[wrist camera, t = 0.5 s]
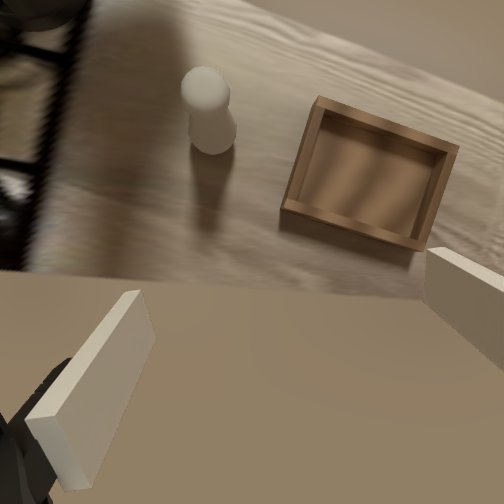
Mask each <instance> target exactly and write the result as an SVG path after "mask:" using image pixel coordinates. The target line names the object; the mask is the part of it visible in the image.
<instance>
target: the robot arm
mask: <svg viewBox="0 0 504 504" xmlns="http://www.w3.org/2000/svg"><path fill="white" fill-rule="evenodd" d="M86 2H87V0H0V22H1V23H3V24H5V25H8V26H10V27H13V28H16V29H20V30H26V31H44V30H49V29H53V28H56V27H59V26H61V25H63V24H65V23H66V22H68V21H69V20H71V19H72V18H73V17H75V16H76V15H77V14H78V13H79V11H80V10H81V9H82V8H83V6H84V5H85V3H86ZM423 303H425V304H426V305H427V306H428V307H429V308H430V309H431V310H433V311H434V312H435V313H436V314H437V315H438V316H440V317H441V318H442V319H443V320H444V321H445V322H447V323H448V324H449V325H450V326H451V327H452V328H453V329H455V330H456V331H457V332H458V333H459V334H461V335H462V336H463V337H464V338H465V339H466V340H467V341H468V342H470V343H471V344H472V345H473V346H474V347H475V348H477V349H478V350H479V351H480V352H481V353H482V354H484V355H485V356H486V357H487V358H488V359H489V360H490V361H492V362H493V363H494V364H495V365H496V366H497V367H499V368H500V369H501V370H502V371H503V372H504V277H503V276H501V275H499V274H497V273H495V272H493V271H491V270H489V269H487V268H485V267H483V266H481V265H479V264H477V263H475V262H473V261H471V260H469V259H467V258H465V257H463V256H461V255H459V254H457V253H455V252H453V251H451V250H449V249H447V248H445V247H439V248H432V249H427V256H426V268H425V281H424V294H423ZM155 341H156V337H155V333H154V330H153V327H152V324H151V320H150V317H149V313H148V310H147V307H146V304H145V300H144V297H143V294H142V290H133V291H126V292H124V293H123V295H122V296H121V297H120V298H119V300H118V301H117V302H116V303H115V305H114V306H113V307H112V309H111V310H110V311H109V312H108V314H107V315H106V316H105V318H104V319H103V320H102V321H101V323H100V324H99V325H98V326H97V328H96V329H95V331H94V332H93V333H92V334H91V335H90V337H89V338H88V339H87V340H86V342H85V343H84V344H83V346H82V347H81V348H80V349H79V351H78V352H77V353H76V354H75V356H74V357H72V358H67V359H66V360H64V361H63V362H62V363H61V364H59V365H58V366H57V367H56V368H54V369H53V370H52V371H51V372H50V374H49V375H48V376H47V377H46V379H45V380H44V381H43V384H40V386H39V387H38V388H37V389H36V390H35V393H34V394H32V395H31V397H30V398H29V399H28V400H27V401H26V403H25V404H24V405H23V406H22V407H21V409H20V410H19V411H18V412H17V413H16V414H15V416H14V417H13V418H12V419H11V420H10V422H9V423H8V424H7V423H6V421H5V420H4V418H3V416H2V415H1V413H0V504H53V501H52V499H51V498H50V496H49V494H48V493H49V491H50V489H51V487H52V486H53V484H54V482H55V480H56V478H57V479H58V481H59V483H60V485H61V486H62V488H63V490H64V492H68V491H76V490H83V489H91V488H92V486H93V484H94V482H95V479H96V477H97V475H98V472H99V470H100V468H101V466H102V463H103V461H104V459H105V456H106V454H107V452H108V449H109V447H110V445H111V442H112V440H113V438H114V435H115V433H116V431H117V429H118V426H119V424H120V421H121V419H122V417H123V415H124V412H125V410H126V408H127V405H128V403H129V401H130V398H131V396H132V394H133V391H134V389H135V387H136V384H137V382H138V380H139V378H140V375H141V373H142V371H143V368H144V366H145V364H146V362H147V359H148V357H149V355H150V352H151V350H152V348H153V345H154V343H155Z"/></svg>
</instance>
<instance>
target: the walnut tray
mask: <svg viewBox="0 0 504 504" xmlns="http://www.w3.org/2000/svg"><path fill="white" fill-rule="evenodd" d="M459 147H460V146H458V145H455V144H452V143H450V142H447V141H444V140H441V139H439V138H436V137H433V136H430V135H428V134H425V133H422V132H419V131H416V130H414V129H411V128H408V127H405V126H403V125H400V124H397V123H394V122H392V121H389V120H386V119H383V118H381V117H378V116H375V115H372V114H369V113H367V112H364V111H361V110H358V109H356V108H353V107H350V106H347V105H345V104H342V103H339V102H336V101H334V100H331V99H328V98H325V97H322V96H320V95H319V96H318V98H317V99H316V101H315V102H314V104H313V105H312V108H311V111H310V114H309V118H308V121H307V124H306V127H305V130H304V134H303V137H302V140H301V143H300V146H299V150H298V153H297V156H296V159H295V162H294V166H293V169H292V172H291V175H290V178H289V182H288V185H287V188H286V191H285V194H284V198H283V201H282V204H281V207H280V209H281V210H285V211H288V212H291V213H294V214H297V215H300V216H303V217H306V218H310V219H313V220H316V221H319V222H322V223H325V224H328V225H331V226H335V227H338V228H341V229H344V230H347V231H350V232H353V233H356V234H360V235H363V236H366V237H369V238H372V239H375V240H378V241H381V242H385V243H388V244H391V245H394V246H397V247H400V248H403V249H406V250H410V251H418V252H423V251H424V248H425V245H426V242H427V239H428V236H429V234H430V231H431V228H432V225H433V222H434V219H435V216H436V213H437V210H438V208H439V205H440V202H441V199H442V196H443V193H444V190H445V187H446V184H447V182H448V179H449V176H450V173H451V170H452V167H453V164H454V161H455V158H456V156H457V153H458V150H459Z"/></svg>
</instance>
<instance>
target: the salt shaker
mask: <svg viewBox="0 0 504 504" xmlns="http://www.w3.org/2000/svg"><path fill="white" fill-rule="evenodd" d="M229 97H230V89H229V87H228V85H227V82H226V80H225V78H224V76H223V75H222V74H221V73H220V72H219V71H218V70H216V69H215V68H211V67H208V66H200V67H194V68H193V69H192V70H190V71H189V72H188V73H187V74H186V75H185V77H184V79H183V81H182V83H181V99H182V101H183V104H184V106H185V108H186V110H187V112H188V113H189V126H188V134H189V136H190V139H191V141H192V143H193V145H194V146H195V147H197V148H198V149H199V150H200V151H201V152H204V153H207V154H210V155H215V154H220V153H223V152H225V151H226V150H227V149H229V148H230V147H231V146H232V144H233V142H234V140H235V138H236V128H237V125H236V123H235V121H234V119H233V116H232V114H231V112H230V111H229V109H228V105H229Z"/></svg>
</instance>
